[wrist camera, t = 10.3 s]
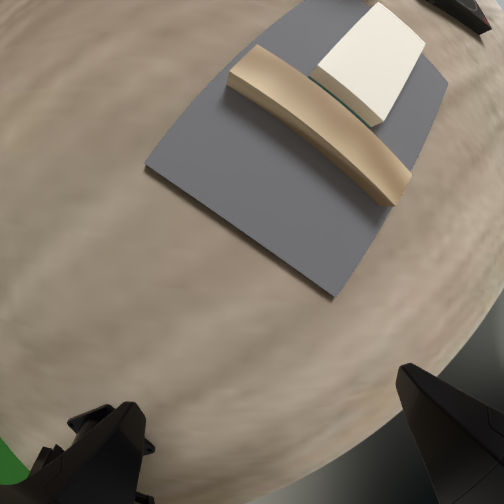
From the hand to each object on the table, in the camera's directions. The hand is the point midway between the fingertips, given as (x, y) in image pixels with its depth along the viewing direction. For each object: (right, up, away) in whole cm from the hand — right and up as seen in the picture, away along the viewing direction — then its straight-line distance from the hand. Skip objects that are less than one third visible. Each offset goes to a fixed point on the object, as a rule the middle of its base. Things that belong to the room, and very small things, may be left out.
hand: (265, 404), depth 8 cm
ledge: (+4, +13, +10) cm, 17 cm away
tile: (+10, +21, +8) cm, 25 cm away
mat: (+7, +17, +10) cm, 20 cm away
